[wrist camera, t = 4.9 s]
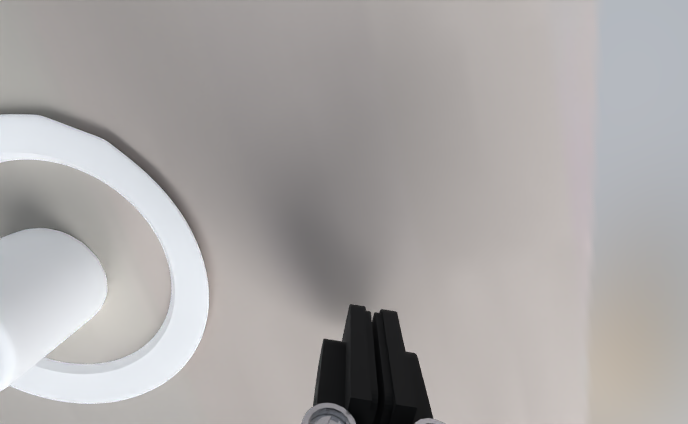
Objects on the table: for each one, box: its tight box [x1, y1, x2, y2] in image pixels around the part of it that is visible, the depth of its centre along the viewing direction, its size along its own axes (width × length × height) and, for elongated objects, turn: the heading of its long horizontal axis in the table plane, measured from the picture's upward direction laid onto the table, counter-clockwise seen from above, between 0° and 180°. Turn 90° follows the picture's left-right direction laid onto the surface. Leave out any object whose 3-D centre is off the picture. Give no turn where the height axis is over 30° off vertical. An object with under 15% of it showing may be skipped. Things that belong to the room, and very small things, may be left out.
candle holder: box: [0, 114, 209, 404], centre depth 12 cm, size 12×12×4 cm
